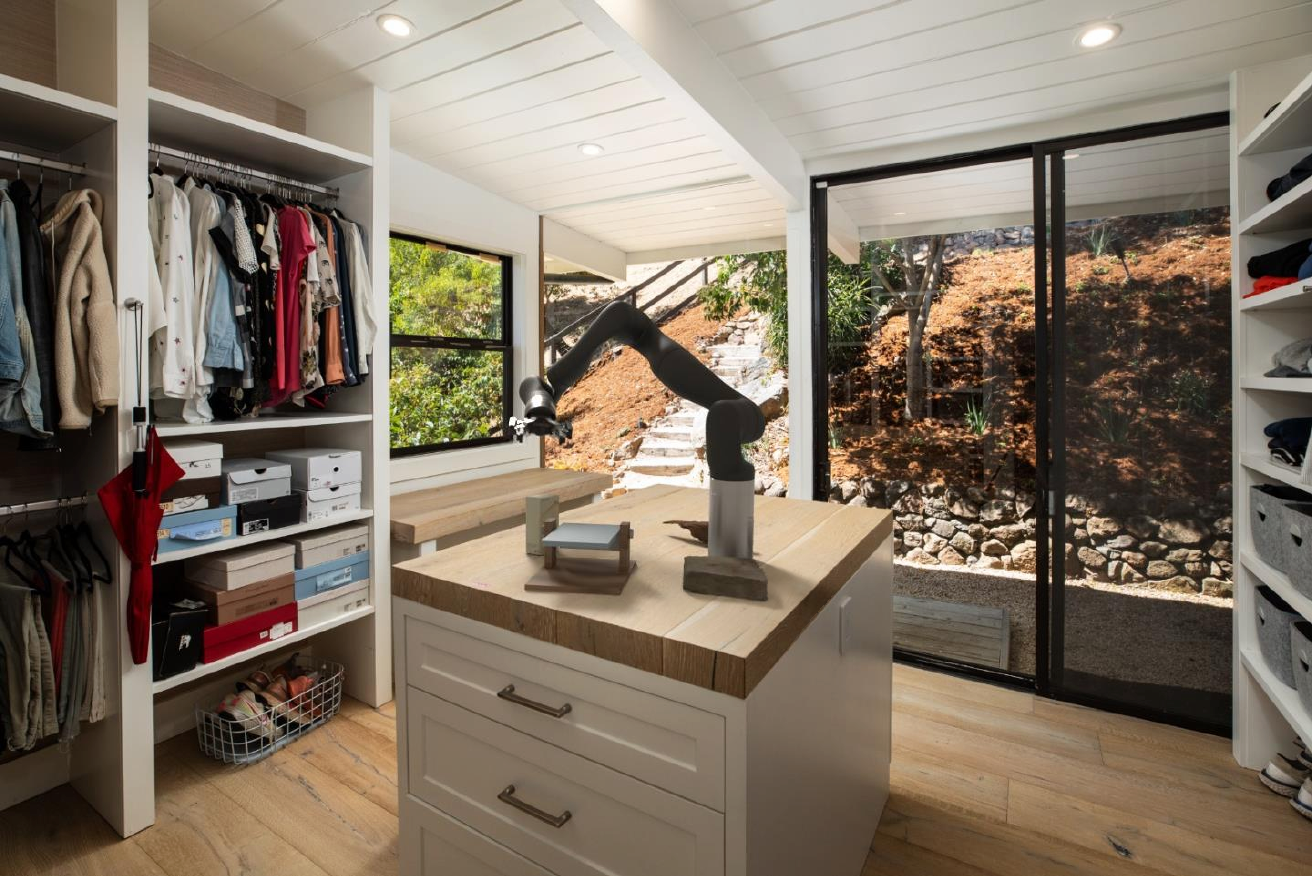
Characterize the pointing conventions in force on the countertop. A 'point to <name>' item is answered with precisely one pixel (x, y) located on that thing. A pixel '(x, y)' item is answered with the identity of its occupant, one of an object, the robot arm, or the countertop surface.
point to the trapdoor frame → (584, 568)
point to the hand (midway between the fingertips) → (541, 440)
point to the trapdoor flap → (584, 537)
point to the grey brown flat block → (725, 577)
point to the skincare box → (539, 519)
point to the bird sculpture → (694, 528)
